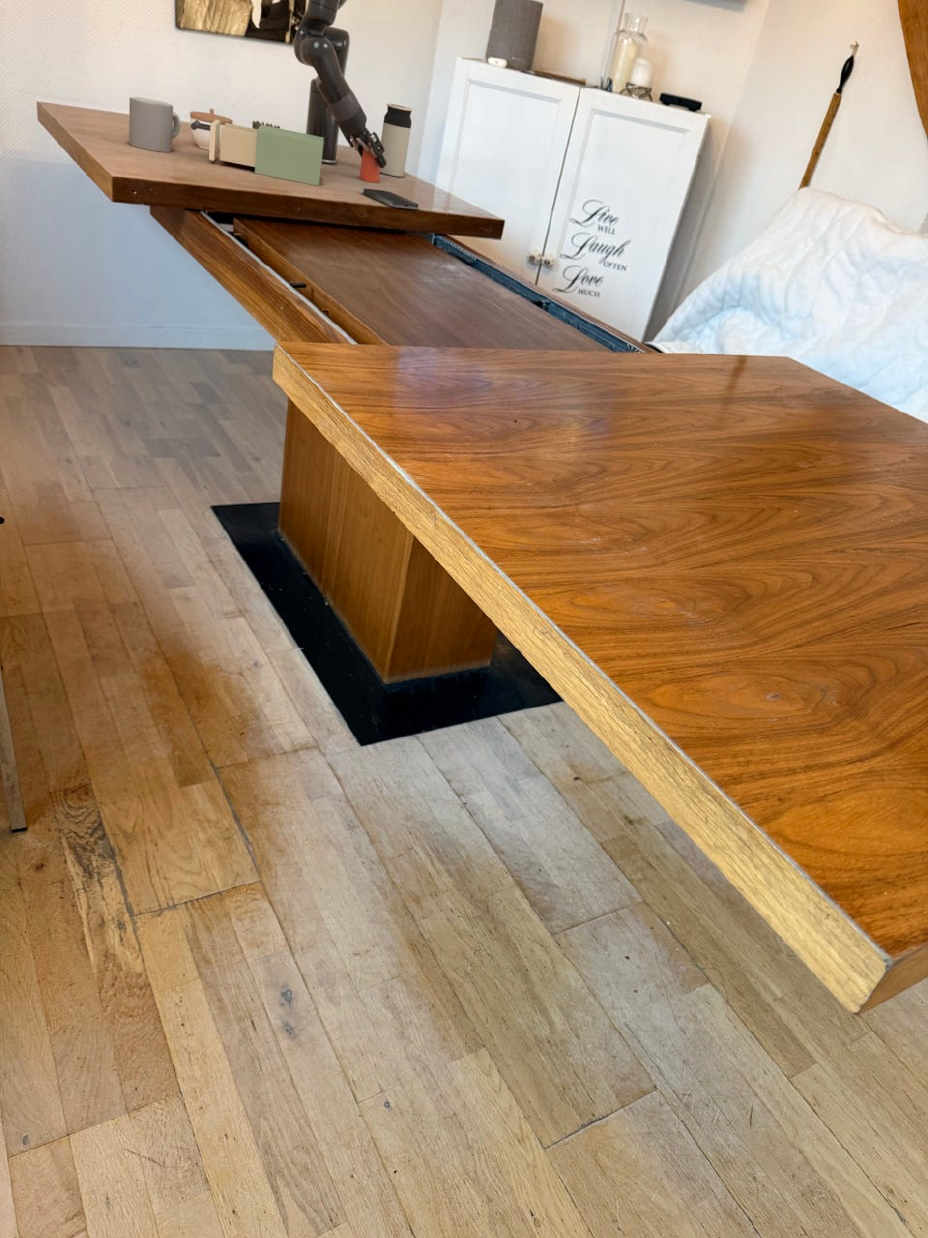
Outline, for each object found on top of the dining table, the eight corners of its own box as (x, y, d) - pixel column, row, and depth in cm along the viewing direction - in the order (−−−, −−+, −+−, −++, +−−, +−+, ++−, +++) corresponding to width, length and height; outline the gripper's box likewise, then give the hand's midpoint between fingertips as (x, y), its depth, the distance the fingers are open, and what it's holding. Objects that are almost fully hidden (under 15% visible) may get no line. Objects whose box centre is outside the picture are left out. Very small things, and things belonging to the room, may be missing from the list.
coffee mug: (141, 149, 220) (142, 102, 215) (121, 140, 225) (122, 94, 220) (192, 154, 229) (193, 109, 223) (171, 145, 234) (173, 101, 229)
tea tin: (357, 176, 253) (361, 140, 249) (374, 179, 255) (379, 144, 251) (362, 180, 249) (367, 144, 245) (380, 183, 252) (385, 147, 247)
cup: (274, 159, 249) (277, 127, 245) (247, 154, 249) (249, 121, 244) (279, 157, 256) (282, 125, 251) (253, 151, 255) (255, 119, 251)
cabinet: (254, 173, 224) (257, 129, 219) (257, 166, 234) (260, 124, 229) (318, 185, 227) (323, 142, 222) (319, 178, 237) (323, 137, 232)
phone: (388, 190, 234) (420, 204, 225) (387, 195, 235) (419, 209, 225) (361, 187, 229) (393, 201, 220) (361, 192, 230) (392, 206, 221)
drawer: (188, 155, 220) (189, 119, 216) (194, 149, 230) (195, 115, 226) (269, 171, 224) (272, 136, 220) (272, 165, 234) (274, 131, 230)
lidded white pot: (236, 151, 248) (238, 112, 243) (223, 154, 239) (225, 114, 234) (197, 142, 248) (198, 103, 243) (182, 145, 239) (184, 104, 234)
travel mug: (378, 173, 268) (388, 104, 258) (375, 169, 274) (384, 101, 265) (405, 178, 270) (415, 110, 260) (401, 174, 276) (411, 107, 267)
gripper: (372, 104, 234) (400, 159, 247) (340, 94, 242) (369, 147, 256) (352, 125, 233) (382, 178, 247) (321, 114, 241) (351, 166, 255)
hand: (375, 162), depth 251 cm, fingers open, 7 cm apart
